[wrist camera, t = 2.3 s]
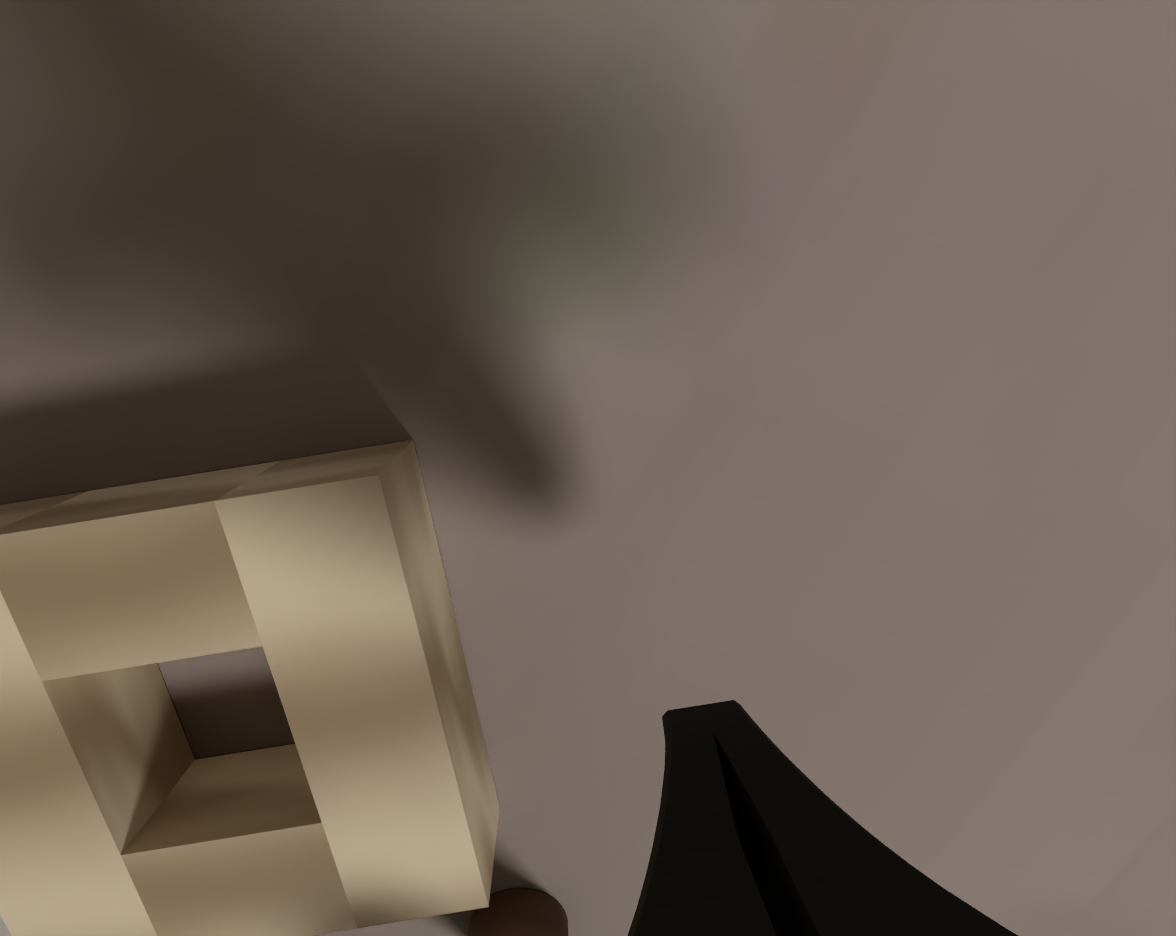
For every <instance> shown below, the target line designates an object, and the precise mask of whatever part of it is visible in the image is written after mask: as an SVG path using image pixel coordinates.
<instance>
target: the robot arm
mask: <svg viewBox="0 0 1176 936" xmlns="http://www.w3.org/2000/svg"><path fill="white" fill-rule="evenodd" d="M662 720H663V727H664V735H665V770H664V779H663V788H662V797H661V804H660V811H659V816H658V821H657V826H656V832H655V837H654V842H653V847H652V852H651V856H650V861H649V865H648V869H647V873H646V877H645V880H644V884H643V888H642V891H641V895H640V899H639V902H638V905H637V909H636V912H635V915H634V918H633V921H632V924H631V927H630V930H629V933H628V936H1018V935H1016V934H1014V933H1013V932H1011V931H1009V930H1008V929H1006V928H1004V927H1003V926H1001V925H1000V924H998V923H997V922H995V921H993V920H992V919H990V918H989V917H987V916H986V915H984V914H983V913H981V912H980V911H978V910H976V909H975V908H973V907H972V906H970V905H969V904H967V903H966V902H964V901H962V900H961V899H959V898H958V897H956V896H955V895H953V894H952V893H950V892H948V891H947V890H945V889H944V888H942V887H941V886H940V885H938V884H937V883H935V882H934V881H933V880H931V879H930V878H928V877H927V876H926V875H924V874H923V873H921V872H920V871H919V870H917V869H916V868H914V867H913V866H912V865H910V864H909V863H908V862H906V861H905V860H904V859H902V858H901V857H900V856H898V855H897V854H896V853H894V852H893V851H892V850H891V849H889V848H888V847H887V846H885V845H884V844H883V843H881V842H880V841H879V840H878V839H876V838H875V837H874V836H873V835H872V834H870V833H869V832H868V831H867V830H865V829H864V828H863V827H862V826H861V825H859V824H858V823H857V822H856V821H855V820H854V819H852V818H851V817H850V816H849V815H848V814H847V813H846V812H844V811H843V810H842V809H841V808H840V807H839V806H838V805H836V804H835V803H834V802H833V801H832V800H831V799H830V798H829V797H828V796H826V795H825V794H824V793H823V792H822V791H821V790H820V789H819V788H818V787H817V786H816V785H815V784H814V783H813V782H812V781H811V780H810V779H809V778H808V777H806V776H805V775H804V774H803V773H802V772H801V771H800V770H799V769H798V768H797V767H796V766H795V765H794V764H793V763H792V762H791V761H790V760H789V759H788V758H787V757H786V756H785V755H784V754H783V753H782V752H781V751H780V749H779V748H778V747H777V746H776V745H775V744H774V743H773V742H772V741H771V740H770V739H769V738H768V737H767V735H766V734H765V733H764V732H763V731H762V730H761V729H760V728H759V727H758V725H757V724H756V723H755V722H754V721H753V720H752V718H751V717H750V716H749V715H748V714H747V712H746V711H745V710H744V709H743V708H742V706H741V705H740V704H739V703H737V702H736V701H734V700H731V701H725V702H719V703H712V704H706V705H700V706H693V707H687V708H681V709H674V710H668V711H667V712H666V713H665V714H664V715H663V716H662Z"/></svg>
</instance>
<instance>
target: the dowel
mask: <svg viewBox="0 0 1176 936" xmlns="http://www.w3.org/2000/svg"><path fill="white" fill-rule="evenodd" d="M468 936H568V920H567V916H566V913H565V911H564V909H563V908H562V906H561V905H560V904H559V903H558V902H557V901H556V900H555V899H554V898H552V897H551V896H549V895H547V894H545V893H543V892H540V891H537V890H533V889H525V888H515V889H508V890H504V891H501V892H498V893H495V894H493V895H491V896H490V899H489V907H486V908H480V909H475V911H474V913H473V915H472V918H471V921H470V928H469V935H468Z"/></svg>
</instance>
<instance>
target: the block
mask: <svg viewBox="0 0 1176 936" xmlns="http://www.w3.org/2000/svg"><path fill="white" fill-rule="evenodd" d="M260 646H263V649H264V652H265V655H266V658H267V661H268V664H269V667H270V670H271V673H272V676H273V679H274V682H275V685H276V688H277V691H278V694H279V697H280V700H281V702H282V705H283V708H284V711H285V714H286V717H287V720H288V723H289V726H290V729H291V732H292V735H293V738H294V741H295V744H290V745H284V746H277V747H271V748H265V749H259V750H252V751H246V752H240V753H234V754H228V755H221V756H215V757H209V758H203V759H196V760H195V759H194V756H193V754H192V751H191V749H190V746H189V744H188V741H187V739H186V736H185V733H184V731H183V728H182V726H181V723H180V721H179V718H178V716H177V713H176V711H175V708H174V705H173V703H172V700H171V698H170V695H169V693H168V690H167V688H166V685H165V683H164V680H163V677H162V675H161V672H160V670H159V667H158V665H157V663H159V662H166V661H172V660H178V659H184V658H191V657H197V656H203V655H209V654H216V653H222V652H228V651H235V650H241V649H247V648H253V647H260ZM499 809H500V808H499V803H498V799H497V795H496V790H495V786H494V782H493V778H492V773H491V769H490V765H489V761H488V756H487V752H486V748H485V744H484V739H483V735H482V731H481V727H480V722H479V718H478V714H477V710H476V705H475V701H474V697H473V693H472V688H471V684H470V680H469V676H468V671H467V667H466V663H465V658H464V654H463V650H462V646H461V641H460V637H459V633H458V629H457V624H456V620H455V616H454V612H453V607H452V603H451V599H450V595H449V590H448V586H447V582H446V578H445V573H444V569H443V565H442V561H441V556H440V552H439V548H438V543H437V539H436V535H435V531H434V526H433V522H432V518H431V514H430V509H429V505H428V501H427V497H426V492H425V488H424V484H423V480H422V475H421V471H420V467H419V463H418V458H417V454H416V450H415V446H414V441H413V440H408V441H402V442H396V443H389V444H383V445H377V446H370V447H364V448H358V449H351V450H345V451H339V452H332V453H326V454H319V455H313V456H307V457H300V458H294V459H288V460H281V461H275V462H269V463H262V464H256V465H250V466H243V467H237V468H231V469H224V470H218V471H212V472H205V473H199V474H193V475H186V476H180V477H174V478H167V479H161V480H155V481H148V482H142V483H136V484H129V485H123V486H117V487H110V488H104V489H98V490H91V491H85V492H79V493H72V494H66V495H60V496H53V497H47V498H41V499H34V500H28V501H22V502H15V503H9V504H3V505H0V915H1V917H2V919H3V921H4V923H5V924H6V926H7V928H8V930H9V932H10V934H11V936H313V935H319V934H325V933H332V932H338V931H344V930H350V929H356V928H362V927H369V926H375V925H381V924H387V923H393V922H400V921H406V920H412V919H418V918H424V917H430V916H437V915H443V914H449V913H455V912H461V911H467V910H474V909H480V908H486V907H489V899H490V890H491V881H492V872H493V863H494V854H495V845H496V836H497V827H498V818H499Z"/></svg>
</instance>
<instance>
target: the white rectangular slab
mask: <svg viewBox="0 0 1176 936" xmlns="http://www.w3.org/2000/svg"><path fill="white" fill-rule="evenodd" d="M0 936H11V934H10V932H9V930H8V928H7V926H6V924H5V923H4V921H3V919H2V917H1V915H0Z"/></svg>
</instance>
